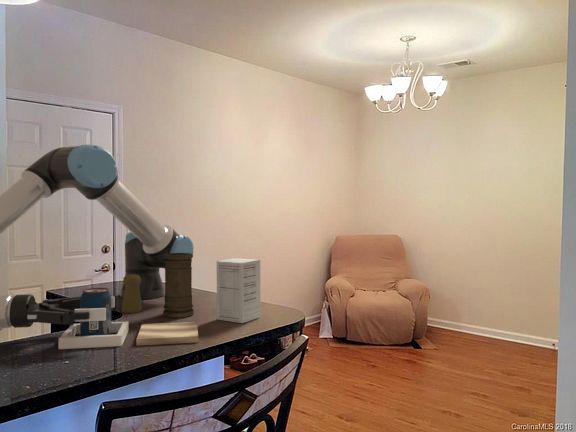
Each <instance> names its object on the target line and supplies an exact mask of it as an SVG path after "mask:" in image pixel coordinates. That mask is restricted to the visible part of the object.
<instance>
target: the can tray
mask: <svg viewBox="0 0 576 432" xmlns="http://www.w3.org/2000/svg"><path fill="white" fill-rule="evenodd" d="M129 325H130V324H129V321H128V320H127V321H111V335H95V336H80V323H74V325H73V326H68V328H67V329H66V330H65V331H64V332H62V334H61V336H60V337H58V350H69V349H71V350H73V349H74V350H75V349H89V348H91V349H92V348H107V347H109V348H111V347H122V346H123V343H124V341H125V339H126V337H127V335H128V332H129ZM114 333H115V334H114ZM76 334H77V335H79V336H77V335H76ZM75 335H76V336H75Z"/></svg>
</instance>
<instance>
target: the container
mask: <svg viewBox="0 0 576 432" xmlns="http://www.w3.org/2000/svg"><path fill="white" fill-rule="evenodd" d="M193 257H194V253H193V254H191V253H168V254H164V258H165V259H166V260H165V268H164V296H163V297H164V305H163V311H162V314H163V317H166V318H173V319H175V318H176V319H179V318H188V317H191V316H193V315H194V311H195V310H194V309H193V307H194V305H193V295H192V287H193V286H192V279H193V277H192V276H193V275H192V269H193V267H192V261H193ZM191 258H192V259H191Z"/></svg>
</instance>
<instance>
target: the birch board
mask: <svg viewBox="0 0 576 432" xmlns="http://www.w3.org/2000/svg"><path fill="white" fill-rule="evenodd" d="M198 330H199V327H198V322H197V321H182V322H163V323H162V322H160V323H156V322H155V323H142V324H141V326H140V329H139V332H138V334H137V337H136V346H154V345H156V346H157V345H170V344H171V345H174V344H175V345H176V344H189V343H190V344H193V343H194V344H195V343H199V331H198Z"/></svg>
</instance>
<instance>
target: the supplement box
mask: <svg viewBox="0 0 576 432" xmlns="http://www.w3.org/2000/svg"><path fill="white" fill-rule="evenodd" d="M261 307H262V306H261V259H252V258H251V259H250V258H240V257H239V258H237V257H235V258H227V259H223V260H222V259H221V260H216V320H219V321H225V322H231V323H237V324H238V323H239V324H245V323H247V322H251V321H253V320H256V319H259V318H261V314H262V313H261V310H262V309H261Z"/></svg>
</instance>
